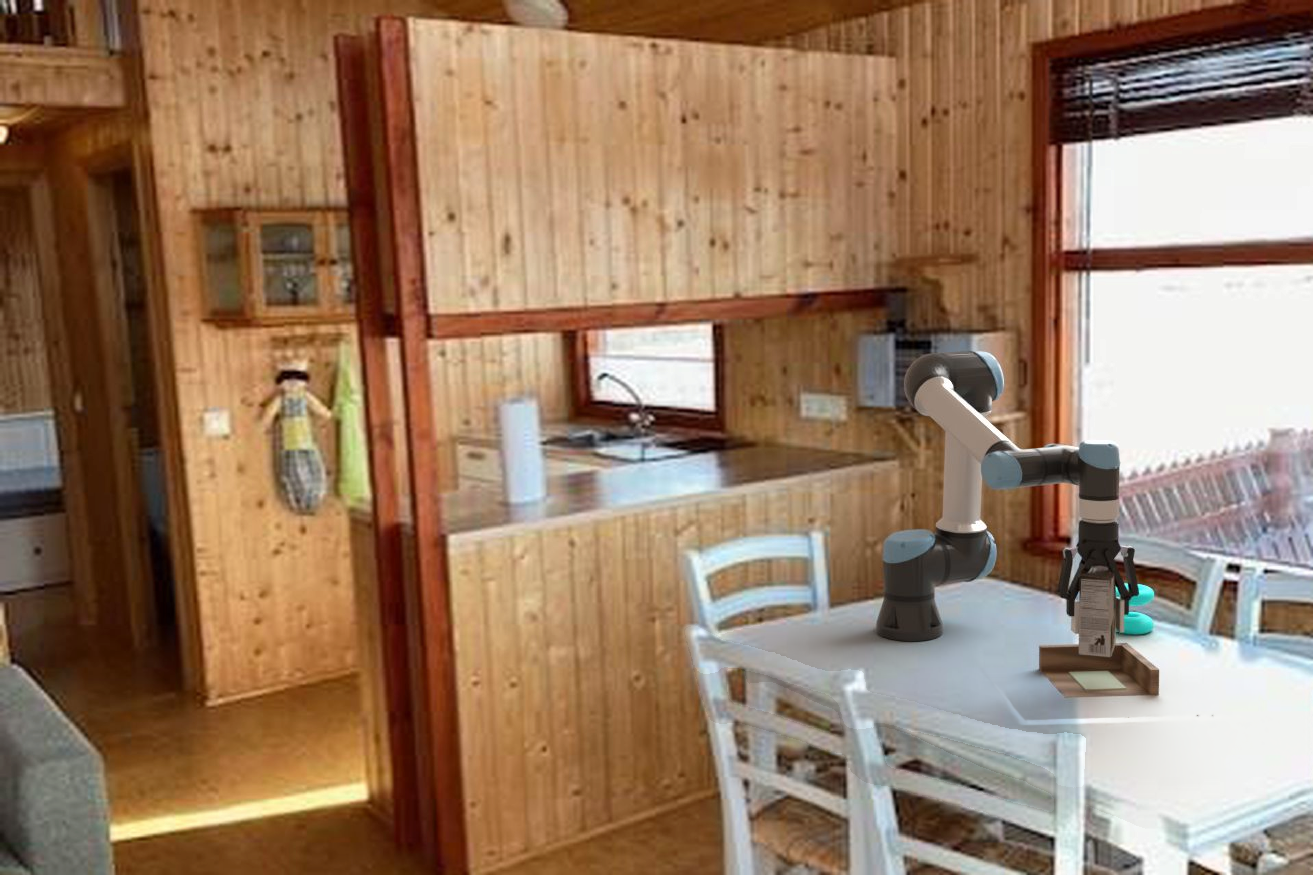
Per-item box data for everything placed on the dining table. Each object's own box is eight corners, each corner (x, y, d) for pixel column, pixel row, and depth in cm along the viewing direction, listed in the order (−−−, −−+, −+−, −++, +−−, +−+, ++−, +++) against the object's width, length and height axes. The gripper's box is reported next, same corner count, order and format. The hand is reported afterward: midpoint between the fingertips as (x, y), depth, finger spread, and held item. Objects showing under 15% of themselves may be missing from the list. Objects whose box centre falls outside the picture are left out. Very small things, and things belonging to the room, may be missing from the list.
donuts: (1162, 586, 295) (1140, 595, 289) (1162, 629, 297) (1139, 638, 290) (1122, 579, 303) (1099, 587, 296) (1121, 621, 304) (1098, 630, 298)
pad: (1068, 673, 265) (1068, 671, 265) (1107, 672, 265) (1107, 670, 265) (1085, 690, 254) (1085, 689, 254) (1126, 689, 254) (1126, 687, 254)
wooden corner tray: (1039, 672, 269) (1039, 645, 268) (1126, 669, 269) (1126, 642, 268) (1065, 701, 251) (1065, 672, 250) (1158, 698, 251) (1159, 669, 250)
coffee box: (1082, 641, 264) (1083, 564, 262) (1116, 644, 262) (1117, 566, 260) (1077, 654, 256) (1078, 574, 254) (1111, 657, 253) (1112, 576, 251)
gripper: (1145, 513, 259) (1143, 624, 262) (1039, 517, 259) (1039, 627, 262) (1159, 521, 252) (1157, 634, 254) (1050, 524, 252) (1049, 638, 255)
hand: (1097, 631), depth 258 cm, fingers closed on coffee box, 8 cm apart
